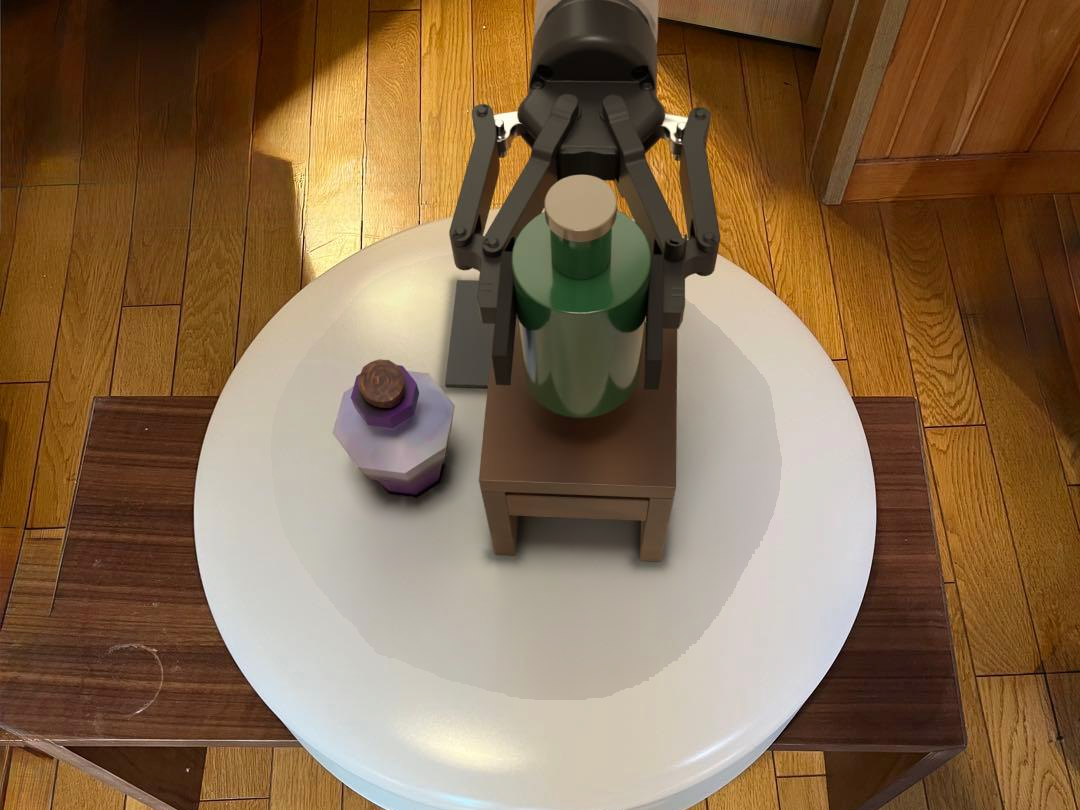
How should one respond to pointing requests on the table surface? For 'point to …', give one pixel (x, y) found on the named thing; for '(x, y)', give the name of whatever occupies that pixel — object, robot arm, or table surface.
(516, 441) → the walnut table
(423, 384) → the potion bottle
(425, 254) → the table surface
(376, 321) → the table surface
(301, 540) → the table surface
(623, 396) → the green bottle
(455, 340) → the felt mat
